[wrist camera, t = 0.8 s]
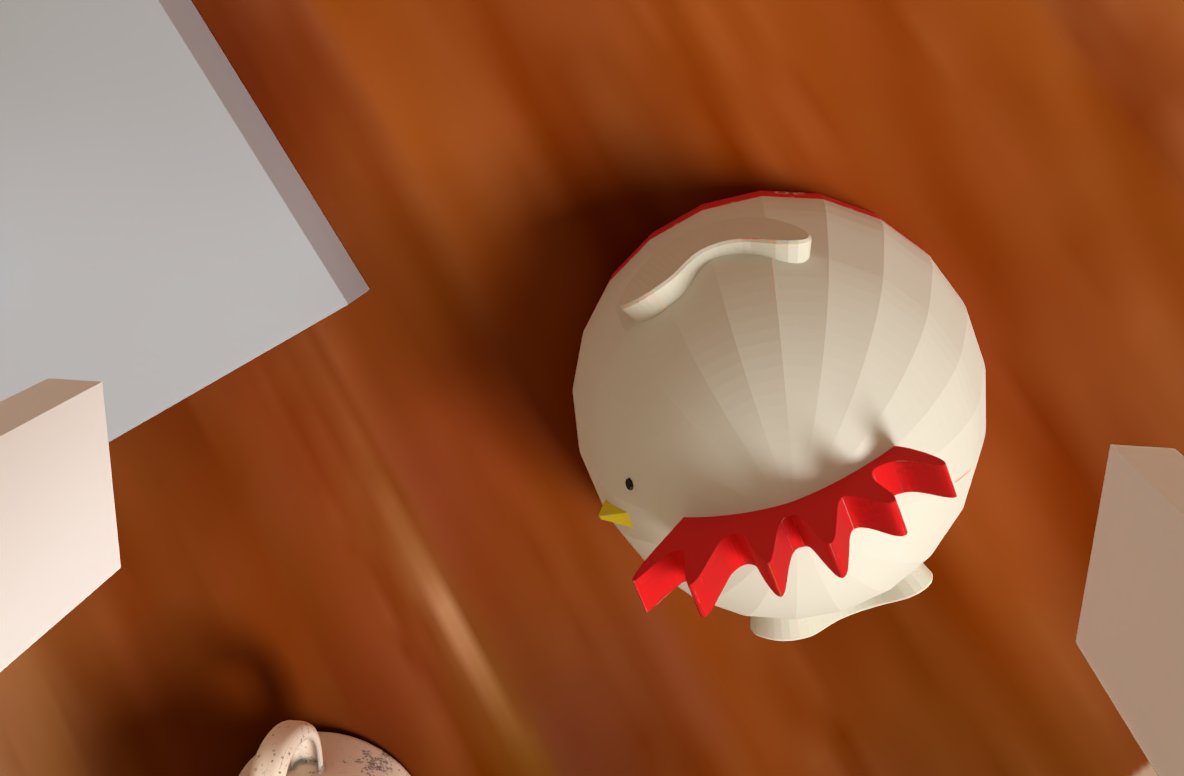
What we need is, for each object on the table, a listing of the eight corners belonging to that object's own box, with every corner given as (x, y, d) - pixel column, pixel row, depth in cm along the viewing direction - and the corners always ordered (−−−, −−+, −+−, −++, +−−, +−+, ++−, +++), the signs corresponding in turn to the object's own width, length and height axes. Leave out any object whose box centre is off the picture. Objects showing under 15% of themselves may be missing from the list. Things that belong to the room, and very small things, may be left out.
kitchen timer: (520, 275, 40) (412, 400, 25) (898, 126, 37) (1014, 172, 23) (663, 608, 43) (637, 886, 29) (1020, 494, 40) (1190, 739, 26)
